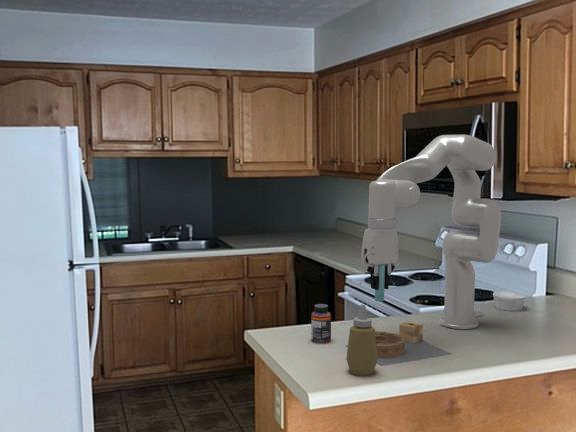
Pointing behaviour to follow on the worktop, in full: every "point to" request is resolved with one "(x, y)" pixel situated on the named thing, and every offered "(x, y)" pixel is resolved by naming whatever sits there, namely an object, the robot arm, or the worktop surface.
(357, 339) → the squeeze bottle
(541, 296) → the worktop surface
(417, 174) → the robot arm
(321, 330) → the supplement bottle
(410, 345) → the felt mat
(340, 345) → the worktop surface
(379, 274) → the teal marker pen
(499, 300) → the ramekin
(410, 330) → the cube bead
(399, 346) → the faceted wooden ring
